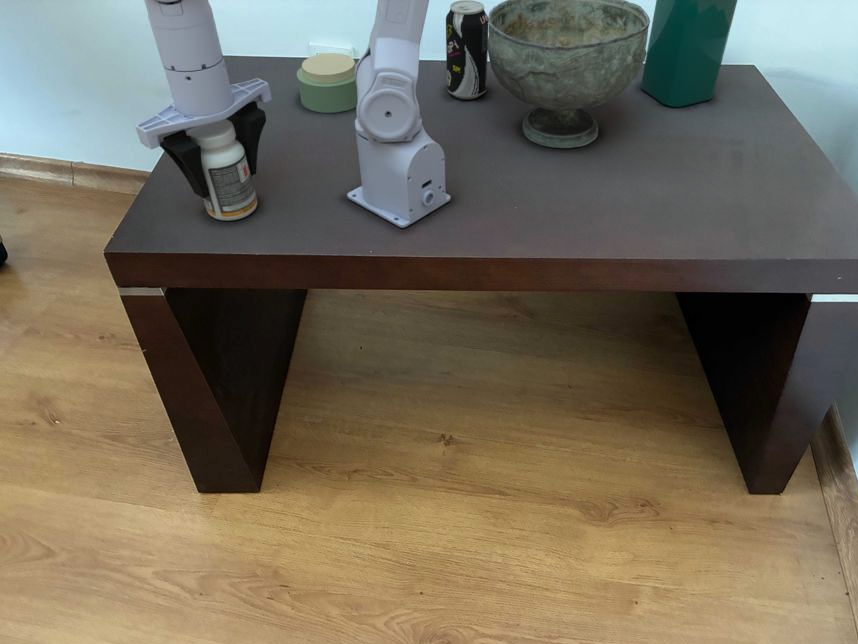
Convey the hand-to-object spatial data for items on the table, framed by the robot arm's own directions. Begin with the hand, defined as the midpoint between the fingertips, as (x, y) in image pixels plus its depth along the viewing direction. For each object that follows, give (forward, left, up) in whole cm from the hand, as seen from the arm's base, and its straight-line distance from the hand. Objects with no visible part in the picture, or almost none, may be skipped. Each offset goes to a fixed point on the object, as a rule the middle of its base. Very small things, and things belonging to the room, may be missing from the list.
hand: (226, 182), depth 79 cm
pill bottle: (0, 0, -4) cm, 4 cm away
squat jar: (+13, -26, -3) cm, 29 cm away
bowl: (-16, -40, -4) cm, 43 cm away
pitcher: (-23, -60, -4) cm, 64 cm away
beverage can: (0, -40, -4) cm, 40 cm away
